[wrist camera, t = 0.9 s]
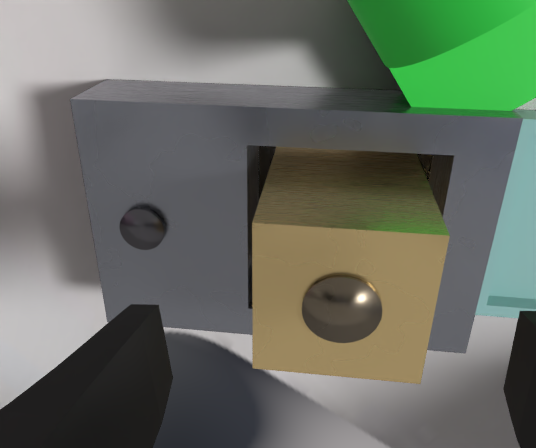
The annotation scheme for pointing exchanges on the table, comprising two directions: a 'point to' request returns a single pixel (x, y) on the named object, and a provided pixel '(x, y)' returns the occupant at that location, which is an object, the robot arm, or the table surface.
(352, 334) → the block
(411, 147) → the grey slotted block
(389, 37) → the mechanical part
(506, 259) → the tray
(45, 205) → the table surface
